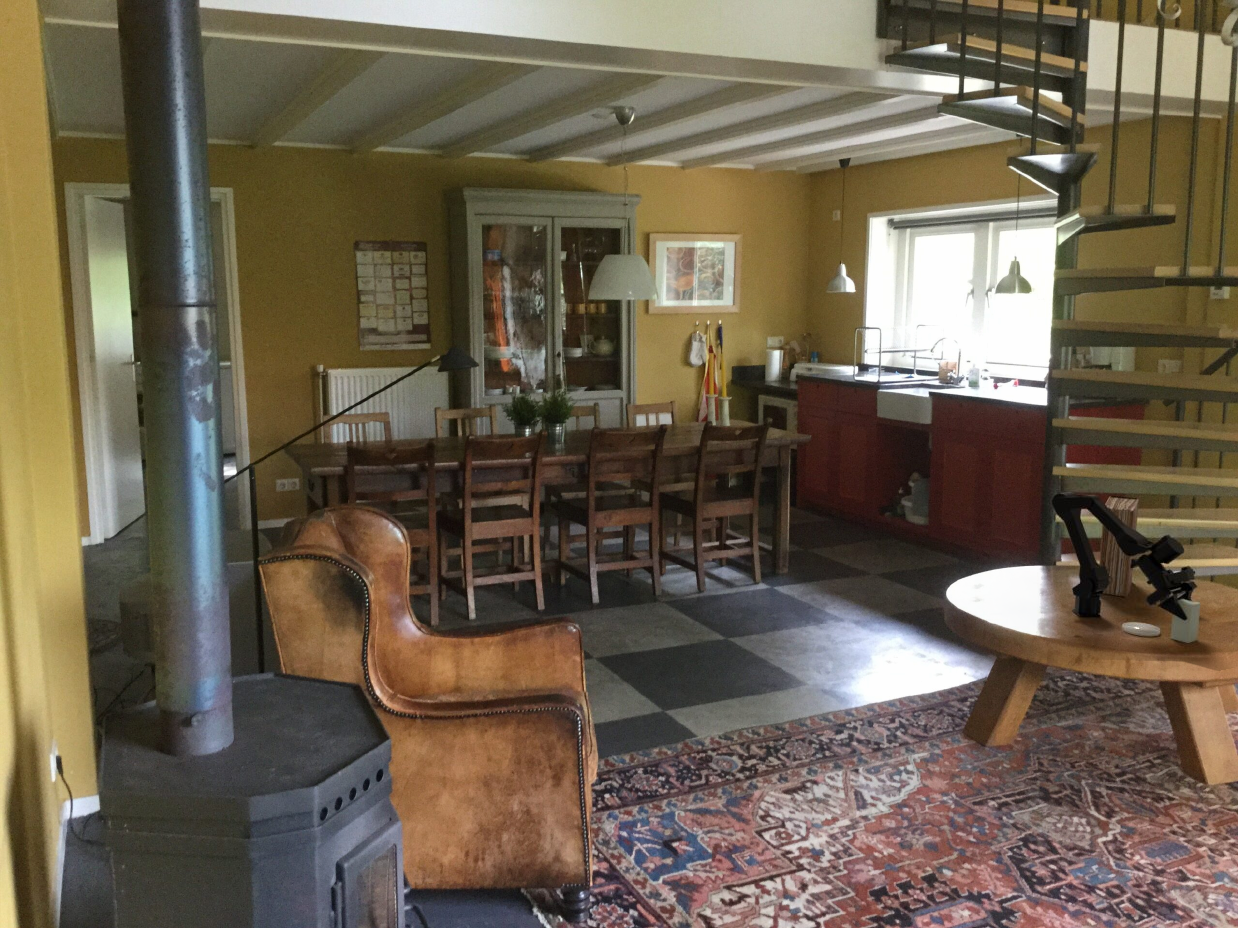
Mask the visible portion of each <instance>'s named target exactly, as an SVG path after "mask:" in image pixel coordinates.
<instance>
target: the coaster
mask: <svg viewBox="0 0 1238 928" xmlns="http://www.w3.org/2000/svg"><path fill="white" fill-rule="evenodd" d="M1121 630H1122V632H1124V633H1128V634H1130V635H1135V636H1139V637H1140V636H1141V637H1157V636H1159V635H1160V634H1161V629H1160V627H1158V626H1156V625H1153V624H1149V623H1144V622H1137V621H1135V622H1133V621H1132V622H1131V621H1130V622H1124V623H1123V624H1122V626H1121Z"/></svg>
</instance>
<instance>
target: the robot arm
mask: <svg viewBox="0 0 1238 928" xmlns="http://www.w3.org/2000/svg"><path fill="white" fill-rule="evenodd" d="M1105 504H1106V503H1105V502H1104V501H1102V499H1101V497H1099V495H1097V494H1091V495H1089V494H1078V493H1075V492H1073V491H1068V492H1060V493H1056V494H1054V496H1053V497H1052V499H1051V506H1052V508H1053V510H1054V511H1055V513H1056V515H1057V516H1058V518H1060V520H1062V521H1063V522H1064V525H1065V528H1066V531H1067V533H1068V536H1069V538H1070V542H1071V545H1072V547H1073V550H1074V553H1075V556H1076V558H1077V561H1078V563H1079V572H1078V578H1079V583H1077V584H1076V585H1074V586H1073V587H1072V588H1071V591H1072V594H1073V596H1075V599H1074V601H1075V602H1074V608H1072V609H1071V611H1072V612H1073V613H1075V614H1076V615H1078V616H1079V617H1091V618H1092V617H1095V618H1096V617H1097V618H1100V617H1102V615H1101V610H1102V607H1101V606H1102V600H1101V595H1103V592H1104V590H1105V589H1107V588H1108V586H1109V584H1110V581H1109V578H1110V576H1109V575H1108V573H1107V568H1106V566H1105V565H1104V566H1100V565H1099V563H1098V561H1097V559H1096V557H1095V554H1094V552H1093V551H1094V550H1093V549H1092V547H1091V543H1090V541H1089V538H1088V535H1087V532H1086V529H1085V527H1084V523H1083V521H1082V519H1081V518H1082V517H1081V516H1082V515H1081V514H1082V510H1083V509H1086V510H1088V511H1089V512H1090V514H1092V516H1093V517H1094V518H1096V520H1098V522H1099V523H1101V524H1103V525H1104V526H1105V527H1106V528H1107V530H1108V531H1109V532H1110V533H1111V534H1112V535H1113V536H1114V537H1115V540H1116V543H1117V545H1118V546H1119V548H1120V549H1121V550H1122V552H1123V553H1124V554H1125V555H1127V556H1134V559H1131V565H1130V568H1131V569H1132V568H1133V569H1135V568H1139V570H1140V571H1141V573H1142V574H1144V576H1145V577H1146V579H1147V581H1146V584H1148V585H1151V586H1152V587H1153V588H1154V589H1155V590H1154V591H1153V592H1152V593H1150V594H1148V595H1147V596H1146V597H1145V598H1146V599H1145V602H1146V603H1147V605H1148V606H1149V607H1155V606H1156V605H1157V608H1161V609H1163V610H1164V611H1167V612H1168V613H1170V614H1172V616H1173V615H1175V616H1177V617H1179V618H1180V619H1182V620H1184V621H1185V620H1187V616H1186V615H1185V613H1184V611H1183V610H1182V608H1181V606H1180V605H1179V603H1178V600H1181V599H1185V600H1189V601H1193V600H1192V593H1194V590H1195V589H1197V588H1198V585H1197V584H1196V583H1195V581H1194V580H1196V578H1195V574H1196V571H1195V570H1194V569H1193V568H1192V567H1190V565H1187V566H1184V567H1181V568H1180V570H1179V571H1180V572H1176V573H1173V572H1174V571H1173V570H1172V569H1167V568H1166V567H1165V566H1164V565H1163V564H1165V565H1169V564H1171V563H1172V562H1173V561H1175V560H1176V559H1177V558H1178V557H1181V555H1183V554H1184V553H1185V547H1183V546H1184V545H1183V544H1181V542H1179V541H1178V540H1177V539H1175V538H1173V537H1171V536H1170V535H1169V534H1166V535H1164V536H1162V537H1161V538H1160V539H1159V540H1158V541H1156V542H1154V541H1151V540H1149V539H1148V538H1147V537H1146V536H1145V535H1144V534H1141V533H1140V531H1137V530H1136V531H1135V530H1133V529H1131V528H1129V527H1128V526H1126V525H1125V524H1124V523H1123V522H1122V521H1121V520H1120V519H1119V518H1118V517H1117V516H1116V515H1115V514H1114V513H1113V512H1112V511H1111V510H1110V509H1109V508H1108V507H1107V506H1106V505H1105ZM1147 553H1148V554H1147ZM1139 555H1141V556H1139ZM1135 556H1139V557H1138V558H1136V557H1135ZM1190 580H1193V581H1190ZM1182 582H1183V583H1182ZM1158 602H1159V604H1157V603H1158Z"/></svg>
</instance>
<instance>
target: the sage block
mask: <svg viewBox="0 0 1238 928" xmlns="http://www.w3.org/2000/svg"><path fill="white" fill-rule="evenodd" d="M1178 603H1179V605H1180V606H1181V608H1182V610H1183V611H1184V613H1185V615H1186V616H1187V620H1185V621H1184V620H1182V619H1180V618H1179V617H1177V616H1175V615H1173V614H1172V618H1171V619H1172V621H1171V630H1170V631H1171V632H1170V639H1171V640H1176V641H1179V642H1183V643H1187V644H1189V643H1192V642H1196V641H1198V633H1199V625H1200V624H1199V622H1200V611H1201V602H1198V601H1194V600H1192V601H1189V600H1185V599H1181V600H1178Z"/></svg>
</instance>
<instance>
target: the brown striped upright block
mask: <svg viewBox="0 0 1238 928" xmlns="http://www.w3.org/2000/svg"><path fill="white" fill-rule="evenodd" d="M1139 501H1140V498H1139V497H1128V496H1114V495H1110V496H1109V497H1108V499H1107V500H1106V503H1104V504H1105V505H1106V506H1107V507H1108V508H1109V509H1110V510H1111V511H1112V512H1113V513H1114V514H1115V515H1116V516H1117V517H1118V518H1119V519H1120V520H1121V521H1122V522H1123V523H1124V524H1125V525H1126V526H1128V527H1129V528H1131V529H1133V530H1135V531H1137V525H1138V511H1139V503H1140V502H1139ZM1101 524H1102V523H1101ZM1131 559H1135V556H1127V555H1125V554H1124V553H1123V552H1122V550H1121V549H1120V548H1119V546H1118V545H1117V543H1116V540H1115V537H1114V536H1113V535H1112V534H1111V533H1110V532H1109V531H1108V530H1107V528H1106V527H1105V526H1104V525H1103V524H1102V527H1101V539H1100V552H1099V563H1098V564H1099V565H1100V566H1104V565H1105V566H1106V568H1107V573H1108V575H1109V576H1110V578H1109V581H1110V584H1109V586H1108V588H1107V589H1105V590H1104V592H1103V594H1105V595H1112V596H1119V597H1125V599H1128V596H1129V593H1130V590H1131V586H1132V582H1133V572H1134V568H1132V569H1131V568H1130V565H1131ZM1103 594H1102V595H1103Z"/></svg>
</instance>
